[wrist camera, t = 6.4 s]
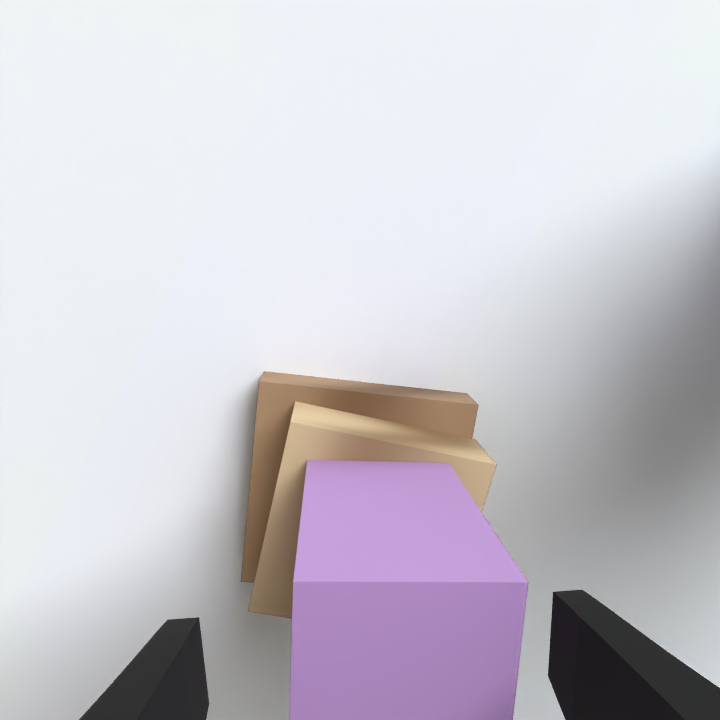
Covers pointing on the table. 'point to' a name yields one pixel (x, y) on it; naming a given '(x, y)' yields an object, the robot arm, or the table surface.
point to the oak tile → (347, 443)
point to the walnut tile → (348, 396)
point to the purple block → (401, 598)
